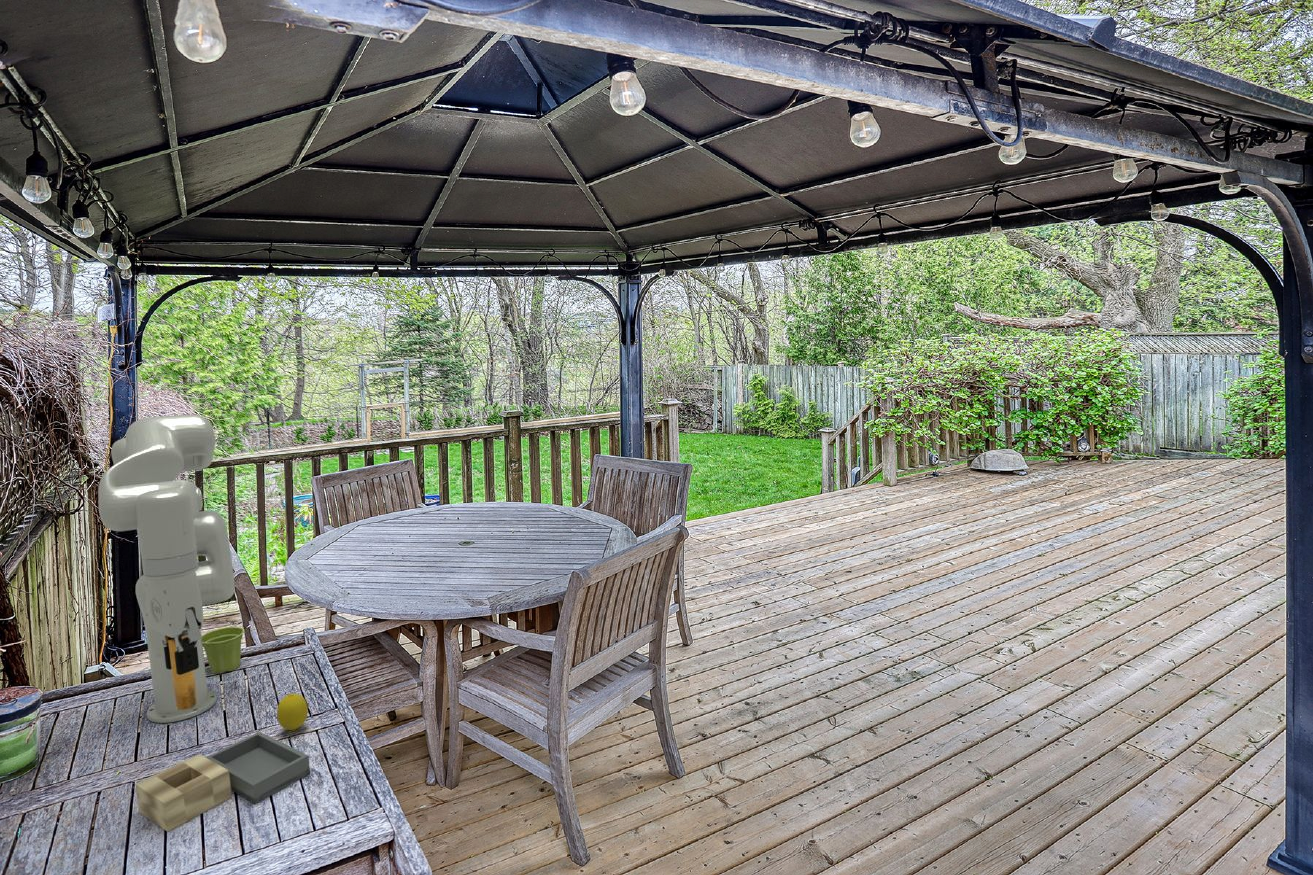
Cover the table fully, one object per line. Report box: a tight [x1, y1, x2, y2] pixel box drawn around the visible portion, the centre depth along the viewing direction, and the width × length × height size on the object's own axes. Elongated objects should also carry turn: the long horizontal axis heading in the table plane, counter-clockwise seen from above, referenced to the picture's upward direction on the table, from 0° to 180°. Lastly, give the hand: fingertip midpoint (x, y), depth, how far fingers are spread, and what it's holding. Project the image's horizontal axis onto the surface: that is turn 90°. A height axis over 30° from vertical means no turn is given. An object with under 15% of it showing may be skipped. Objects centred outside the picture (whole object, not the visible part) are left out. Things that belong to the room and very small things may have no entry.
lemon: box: [276, 692, 309, 732], centre depth 142 cm, size 6×6×8 cm
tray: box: [206, 731, 311, 805], centre depth 127 cm, size 16×10×4 cm, turn 59°
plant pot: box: [201, 626, 245, 674], centre depth 170 cm, size 9×9×9 cm
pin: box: [168, 635, 197, 710], centre depth 118 cm, size 3×3×12 cm
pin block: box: [134, 753, 233, 832], centre depth 119 cm, size 10×10×5 cm
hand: (182, 667), depth 118 cm, fingers closed on pin, 3 cm apart
